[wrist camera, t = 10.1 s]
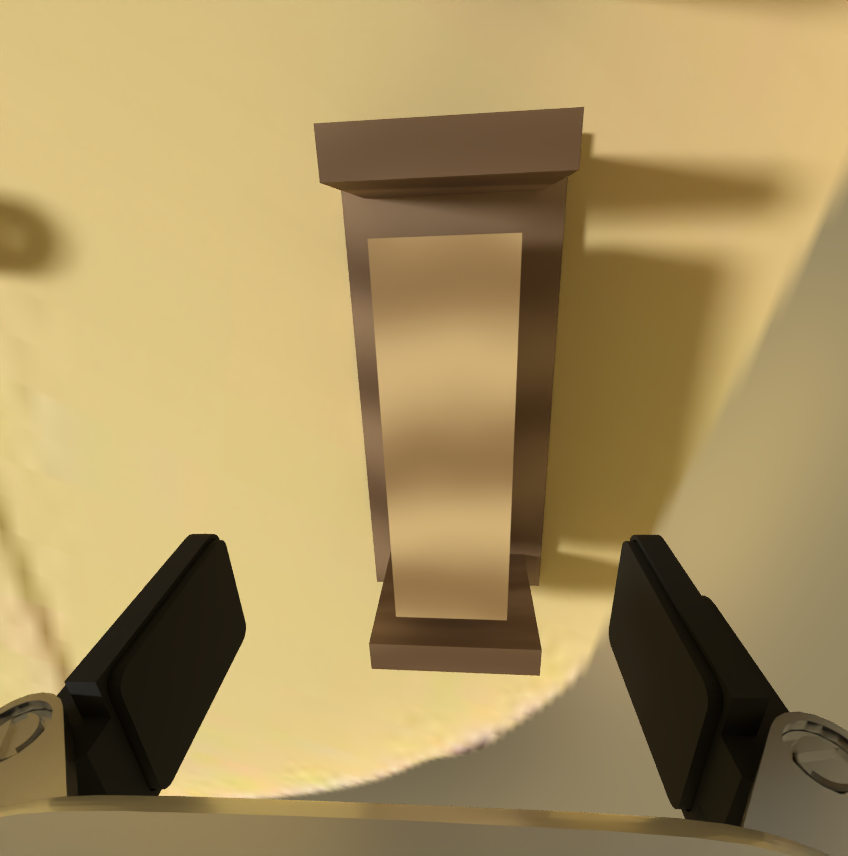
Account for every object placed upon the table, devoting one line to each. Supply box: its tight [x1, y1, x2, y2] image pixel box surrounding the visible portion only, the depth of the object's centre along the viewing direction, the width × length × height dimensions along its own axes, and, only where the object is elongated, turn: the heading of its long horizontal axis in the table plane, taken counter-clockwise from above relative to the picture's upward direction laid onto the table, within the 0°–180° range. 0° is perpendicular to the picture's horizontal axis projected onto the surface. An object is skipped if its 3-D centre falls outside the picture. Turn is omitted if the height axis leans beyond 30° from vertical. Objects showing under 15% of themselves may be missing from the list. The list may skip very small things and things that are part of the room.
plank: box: [367, 233, 522, 620], centre depth 20 cm, size 16×5×4 cm, turn 2°
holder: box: [314, 107, 584, 676], centre depth 22 cm, size 24×10×8 cm, turn 2°
